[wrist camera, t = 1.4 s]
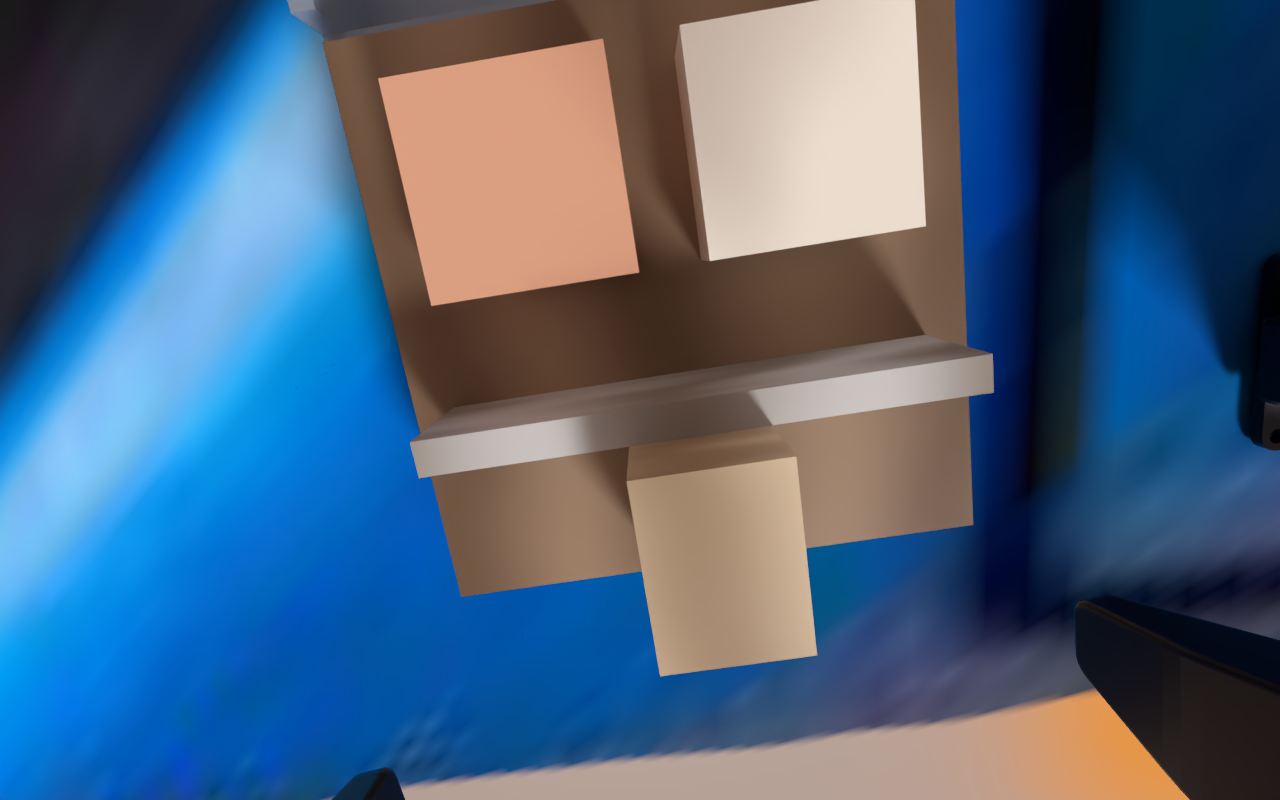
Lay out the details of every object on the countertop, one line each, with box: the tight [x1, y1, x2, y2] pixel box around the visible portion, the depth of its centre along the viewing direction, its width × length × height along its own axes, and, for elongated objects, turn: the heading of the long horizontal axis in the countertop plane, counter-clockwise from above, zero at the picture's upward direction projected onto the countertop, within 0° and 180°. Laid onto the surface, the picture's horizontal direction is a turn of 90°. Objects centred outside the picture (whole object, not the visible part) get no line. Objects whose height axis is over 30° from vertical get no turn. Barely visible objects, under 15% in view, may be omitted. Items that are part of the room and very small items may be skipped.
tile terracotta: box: [378, 39, 640, 306], centre depth 13 cm, size 4×4×2 cm
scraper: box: [410, 335, 994, 676], centre depth 13 cm, size 12×5×5 cm, turn 99°
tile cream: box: [674, 0, 926, 261], centre depth 13 cm, size 4×4×2 cm
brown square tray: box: [323, 0, 973, 597], centre depth 17 cm, size 14×14×5 cm
